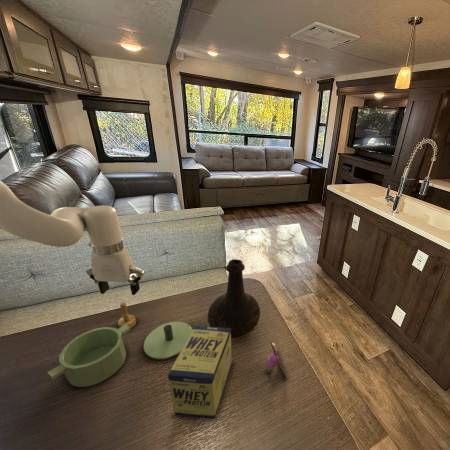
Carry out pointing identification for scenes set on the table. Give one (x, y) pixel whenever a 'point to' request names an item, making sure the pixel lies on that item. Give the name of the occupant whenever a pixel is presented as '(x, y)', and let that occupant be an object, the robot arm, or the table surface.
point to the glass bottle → (235, 305)
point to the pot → (92, 356)
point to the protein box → (201, 372)
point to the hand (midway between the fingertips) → (120, 291)
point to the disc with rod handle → (126, 317)
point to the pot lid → (167, 340)
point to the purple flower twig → (274, 360)
